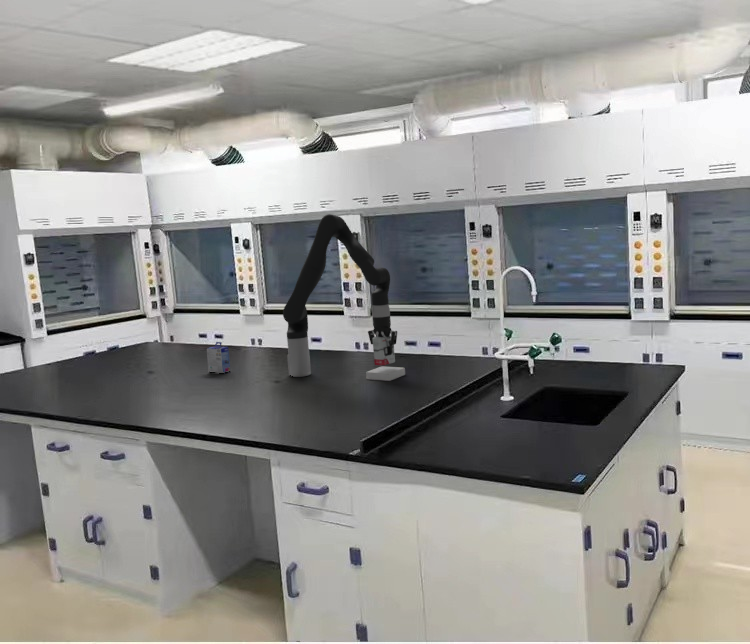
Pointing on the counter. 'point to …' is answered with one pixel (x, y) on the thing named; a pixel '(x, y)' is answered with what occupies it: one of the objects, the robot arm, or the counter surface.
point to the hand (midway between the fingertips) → (384, 354)
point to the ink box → (382, 352)
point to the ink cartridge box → (218, 358)
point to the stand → (385, 373)
